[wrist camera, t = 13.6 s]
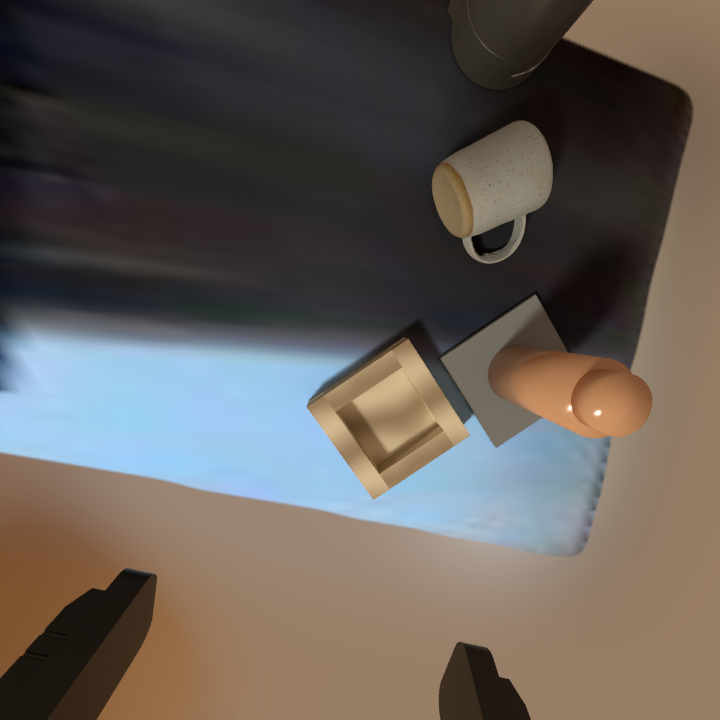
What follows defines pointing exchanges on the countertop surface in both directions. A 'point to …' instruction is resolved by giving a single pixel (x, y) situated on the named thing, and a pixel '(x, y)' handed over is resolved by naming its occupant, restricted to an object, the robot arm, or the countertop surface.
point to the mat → (476, 354)
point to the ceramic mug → (494, 185)
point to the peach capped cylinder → (572, 390)
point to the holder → (388, 418)
